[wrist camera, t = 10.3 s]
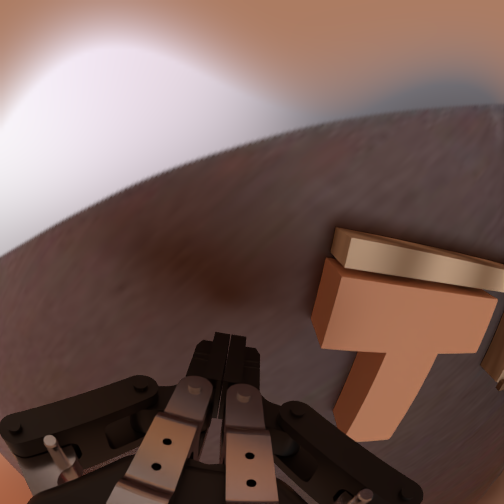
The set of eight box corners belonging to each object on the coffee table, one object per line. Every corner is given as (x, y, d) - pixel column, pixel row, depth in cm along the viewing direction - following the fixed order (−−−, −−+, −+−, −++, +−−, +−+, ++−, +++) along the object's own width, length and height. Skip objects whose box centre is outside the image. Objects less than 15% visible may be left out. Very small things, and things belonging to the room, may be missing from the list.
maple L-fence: (298, 372, 19) (305, 407, 15) (335, 227, 16) (355, 240, 13) (486, 369, 19) (505, 389, 15) (525, 270, 16) (551, 283, 13)
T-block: (283, 408, 20) (286, 441, 16) (325, 257, 17) (341, 276, 13) (413, 407, 20) (428, 433, 16) (469, 282, 17) (498, 299, 13)
